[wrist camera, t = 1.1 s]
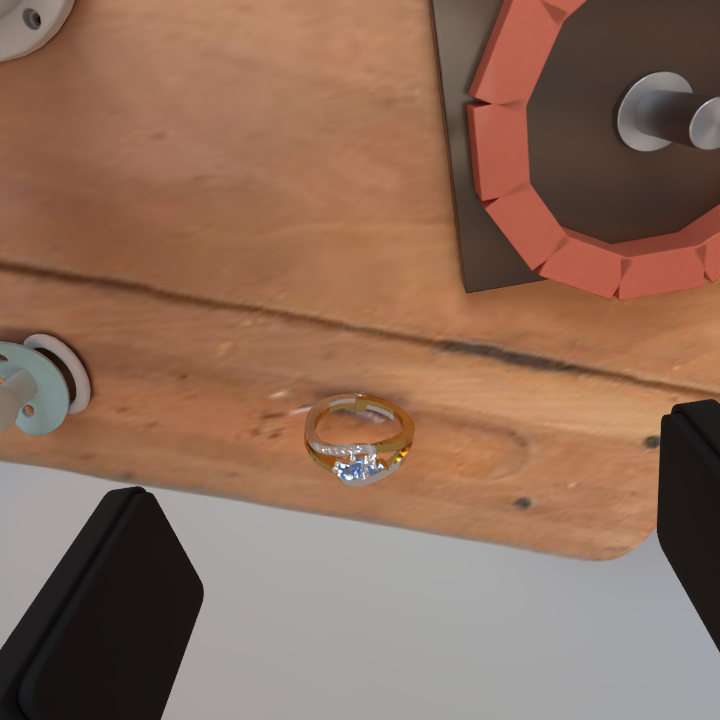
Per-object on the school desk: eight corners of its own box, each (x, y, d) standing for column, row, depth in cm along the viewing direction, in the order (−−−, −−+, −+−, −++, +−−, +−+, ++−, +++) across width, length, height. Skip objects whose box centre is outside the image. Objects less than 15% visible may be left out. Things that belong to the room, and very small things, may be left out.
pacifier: (69, 320, 35) (-15, 330, 36) (15, 367, 30) (-84, 378, 30) (108, 410, 39) (31, 419, 39) (66, 467, 33) (-23, 476, 34)
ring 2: (899, -180, 21) (955, -207, 19) (809, 249, 29) (842, 263, 27) (449, -61, 23) (455, -74, 21) (486, 304, 32) (493, 321, 30)
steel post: (600, 102, 26) (654, 112, 21) (673, 53, 25) (748, 51, 20) (629, 164, 28) (686, 188, 22) (699, 121, 26) (776, 135, 21)
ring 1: (414, 384, 36) (421, 460, 30) (406, 421, 38) (411, 502, 31) (314, 371, 36) (297, 444, 29) (310, 409, 38) (293, 487, 31)
